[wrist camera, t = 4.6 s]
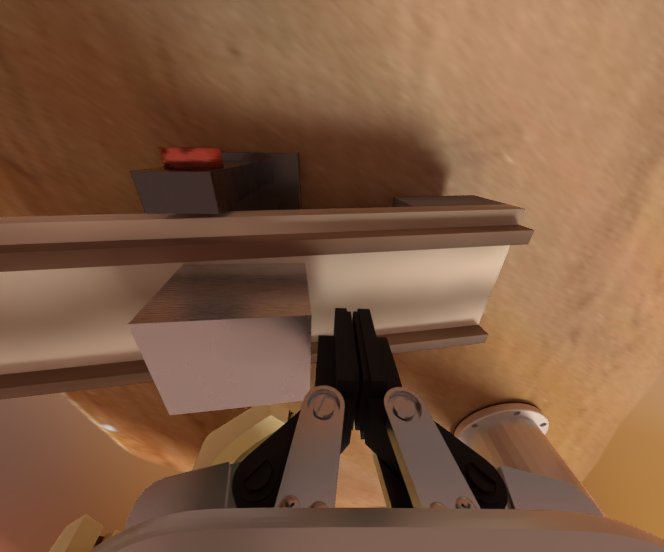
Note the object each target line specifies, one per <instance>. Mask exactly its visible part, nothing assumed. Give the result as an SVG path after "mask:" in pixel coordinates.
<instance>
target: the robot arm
mask: <svg viewBox="0 0 664 552" xmlns="http://www.w3.org/2000/svg"><path fill="white" fill-rule="evenodd" d="M354 421H355V429H356V430H360V434H361V439H365V444H366V445H367V446H368V447H369V448H370V449H371V450H372V452H373V458H374V462H375V466H376V469H377V473H378V477H379V480H380V484H381V487H382V491H383V495H384V498H385V502H386V506H387V508H335V499H336V489H337V479H338V469H339V459H340V454H341V453H342V452H343V451H344V449H345V448H346V447H347V446H348V445H349V443H350V436H351V430H353V424H354ZM548 427H549V422H548V420H547V418H546V416H545V415H544V414H543V413H542V412H541V411H540V410H539V409H538V408H536V407H534V406H531V405H528V404H522V403H506V404H499V405H495V406H491V407H488V408H484V409H482V410H480V411H477V412H475V413H474V414H472V415H470V416H468V417H467V418H466V419H464V420H463V421H462V422H461V423H460V424H459V425H458V427H457V428H456V430H455V433H454V435H452V434H451V433H450V432H448V431H447V430H446V429H444V428H443V427H442V426H440V425H439V424H438V423H436V422H435V421H434V420H433V418H432V416H431V415H430V413H429V411H428V409H427V407H426V405H425V403H424V402H423V400H422V399H421V398H420V396H418V395H417V394H416V393H415V392H413V391H412V390H410V389H407V388H404V387H402V385H401V382H400V378H399V375H398V372H397V369H396V365H395V362H394V359H393V356H392V352H391V349H390V346H389V343H388V340H387V338H386V337H377V336H376V332H375V328H374V324H373V320H372V316H371V312H370V309H359V308H358V309H357V311H353V317H352V315H351V311H347V308H335V317H334V334H333V336H329V335H319V336H318V350H317V366H316V381H315V387H314V388H313V389H311V390H310V391H309V392H308V393H307V394H306V395H305V398H304V400H303V403H302V407H301V410H300V411H299V412H298V413H297V414H295V415H294V416H293V417H292V418H291V419H290V420H288V421H287V422H286V423H285V424H284V425H283V426H281V427H280V428H279V429H278V430H277V431H276V432H274V433H273V434H272V435H271V436H270V437H269V438H267V439H266V440H265V441H264V442H263V443H262V444H260V445H259V446H258V447H257V448H256V449H255V450H253V451H252V452H251V453H250V454H249V455H248V456H246V457H245V459H244V460H243V461H241V462H237V463H233V464H230V462H226V463H222V464H218V465H214V466H210V467H206V468H202V469H197V470H193V471H189V472H185V473H181V474H178V475H174V476H170V477H166V478H163V479H161V480H158V481H156V482H154V483H153V484H152V485H151V486H149V487H148V488H147V489H145V491H144V492H143V493H142V494H141V495H140V497H139V498H138V499H137V500H136V502H135V504H134V506H133V508H132V510H131V512H130V515H129V517H128V520H127V523H126V526H125V528H124V531H122V532H120V533H118V534H116V535H114V536H112V537H110V538H108V539H107V540H105V541H103V542H102V543H100V544H99V545H97V546H95V547H94V548H92V549H91V550H89V551H88V552H664V540H663V539H661V538H659V537H657V536H655V535H653V534H651V533H648V532H646V531H644V530H642V529H639V528H637V527H634V526H631V525H629V524H626V523H624V522H621V521H617V520H614V519H610V518H607V517H606V516H605V514H604V513H603V511H602V510H601V509H600V507H599V506H598V505H597V503H596V502H595V501H594V500H593V498H592V497H591V496H590V494H589V493H588V492H587V490H586V489H585V488H584V486H583V485H582V484H581V482H580V481H579V480H578V478H577V477H576V476H575V474H574V473H573V472H572V470H571V469H570V468H569V467H568V465H567V464H566V463H565V461H564V460H563V459H562V457H561V456H560V455H559V453H558V452H557V451H556V449H555V448H554V447H553V445H552V444H551V443H550V441H549V440H548V439H547V438H546V436H545V434H546V432H547V430H548Z"/></svg>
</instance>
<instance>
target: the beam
mask: <svg viewBox="0 0 664 552" xmlns="http://www.w3.org/2000/svg"><path fill="white" fill-rule="evenodd" d="M524 210H525V209H523V208H520V207H516V206H512V205H508V204H504V203H501V202H497V201H493V200H489V199H486V198H482V197H478V196H474V195H468V196H413V197H393V205H392V207H381V208H340V209H300V210H260V211H223V212H221V213H220V214H146V213H139V214H98V215H58V216H17V217H0V400H1V399H9V398H16V397H17V398H18V397H26V396H35V395H43V394H52V393H60V392H69V391H77V390H86V389H95V388H103V387H112V386H120V385H129V384H137V383H146V382H154V380H153V378H152V376H151V374H150V372H149V370H148V367H147V365H146V363H145V361H144V359H143V357H142V354H141V352H140V350H139V348H138V346H137V344H136V341H135V339H134V337H133V335H132V333H131V331H130V328H129V326H128V323H129V322H130V321H131V320H132V319H133V318H134V317H135V316H136V315H137V314H138V313H139V311H140V310H141V309H142V308H143V307H144V306H145V305H146V304H147V303H148V302H149V301H150V300H151V298H152V297H153V296H154V295H155V294H156V293H157V292H158V291H159V290H160V289H161V288H162V286H163V285H164V284H165V283H166V282H167V281H168V280H169V279H170V278H171V277H172V276H173V275H174V273H175V272H176V271H177V270H178V269H179V268H180V267H181V266H182V265H184V264H251V263H305V266H306V274H307V282H308V290H309V298H310V306H311V314H312V319H311V363H317V350H318V336H319V335H329V336H333V334H334V317H335V308H347V311H351V315H352V317H353V311H357V309H358V308H359V309H370V312H371V316H372V320H373V324H374V328H375V332H376V336H377V337H386V338H387V340H388V343H389V346H390V349H391V352H392V354H394V353H402V352H411V351H419V350H428V349H436V348H445V347H454V346H462V345H471V344H479V343H485V341H486V339H487V336H488V333H487V332H485V331H484V330H483V329H482V328H481V327H480V326H479V325H478V324H479V322H480V319H481V317H482V314H483V312H484V309H485V307H486V305H487V302H488V300H489V297H490V295H491V292H492V290H493V287H494V285H495V282H496V280H497V277H498V275H499V272H500V270H501V267H502V265H503V262H504V260H505V257H506V255H507V252H508V250H509V248H510V245H523V244H529V241H530V239H531V237H532V234H533V232H534V230H532V229H529V228H526V227H524V226H521V225H519V223H520V220H521V218H522V215H523V213H524Z"/></svg>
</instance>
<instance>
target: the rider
mask: <svg viewBox="0 0 664 552" xmlns="http://www.w3.org/2000/svg"><path fill="white" fill-rule="evenodd" d="M311 319H312V314H311V306H310V298H309V290H308V282H307V274H306V266H305V263H251V264H184V265H182V266H181V267H180V268H179V269H178V270H177V271H176V272H175V273H174V275H173V276H172V277H171V278H170V279H169V280H168V281H167V282H166V283H165V284H164V285H163V286H162V288H161V289H160V290H159V291H158V292H157V293H156V294H155V295H154V296H153V297H152V298H151V300H150V301H149V302H148V303H147V304H146V305H145V306H144V307H143V308H142V309H141V310H140V311H139V313H138V314H137V315H136V316H135V317H134V318H133V319H132V320H131V321H130V322H129V323H128V326H129V328H130V331H131V333H132V335H133V337H134V339H135V341H136V344H137V346H138V348H139V350H140V352H141V354H142V357H143V359H144V361H145V363H146V365H147V367H148V370H149V372H150V374H151V376H152V378H153V380H154V383H155V385H156V387H157V389H158V391H159V394H160V396H161V398H162V400H163V402H164V404H165V407H166V409H167V411H168V413H169V415H178V414H187V413H197V412H206V411H215V410H224V409H233V408H243V407H252V406H261V405H270V404H279V403H289V402H298V401H303V400H304V398H305V395H306V394H307V393H308V392H309V391H310V373H311Z"/></svg>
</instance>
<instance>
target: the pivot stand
mask: <svg viewBox="0 0 664 552" xmlns="http://www.w3.org/2000/svg"><path fill="white" fill-rule="evenodd" d="M158 148H159V152H160V155H161V158H162V162H163V165H164V167H161V168H153V169H144V170H136V171H130V173H131V175H132V178H133V181H134V183H135V186H136V189H137V192H138V194H139V197H140V200H141V202H142V205H143V208H144V210H145V213H146V214H220V213H221V212H223V211H260V210H300V209H302V207H301V188H300V168H299V153H247V152H221V149H220V148H185V147H158Z"/></svg>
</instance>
